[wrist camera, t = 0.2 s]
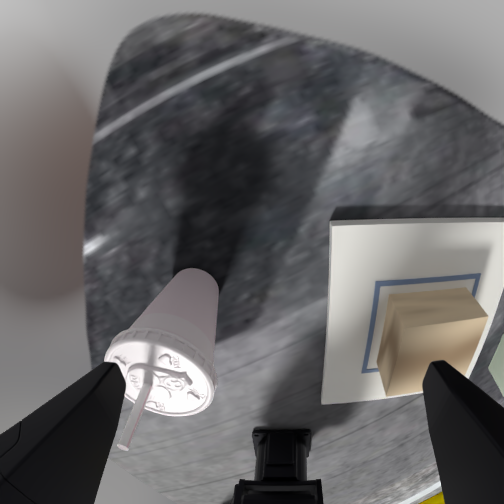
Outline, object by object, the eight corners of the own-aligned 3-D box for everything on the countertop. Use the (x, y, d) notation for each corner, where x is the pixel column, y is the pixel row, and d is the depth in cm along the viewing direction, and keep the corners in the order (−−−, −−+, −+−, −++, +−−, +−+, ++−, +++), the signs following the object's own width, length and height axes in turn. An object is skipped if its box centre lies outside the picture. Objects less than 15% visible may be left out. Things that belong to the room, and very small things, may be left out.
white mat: (462, 377, 27) (466, 384, 26) (320, 397, 29) (321, 405, 28) (512, 217, 19) (519, 222, 18) (329, 220, 21) (332, 226, 20)
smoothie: (141, 265, 24) (45, 404, 11) (216, 240, 23) (148, 402, 10) (178, 329, 26) (122, 474, 14) (249, 312, 25) (223, 479, 12)
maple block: (445, 352, 24) (461, 383, 21) (376, 362, 25) (386, 396, 22) (465, 287, 21) (488, 316, 18) (388, 294, 22) (404, 327, 19)
